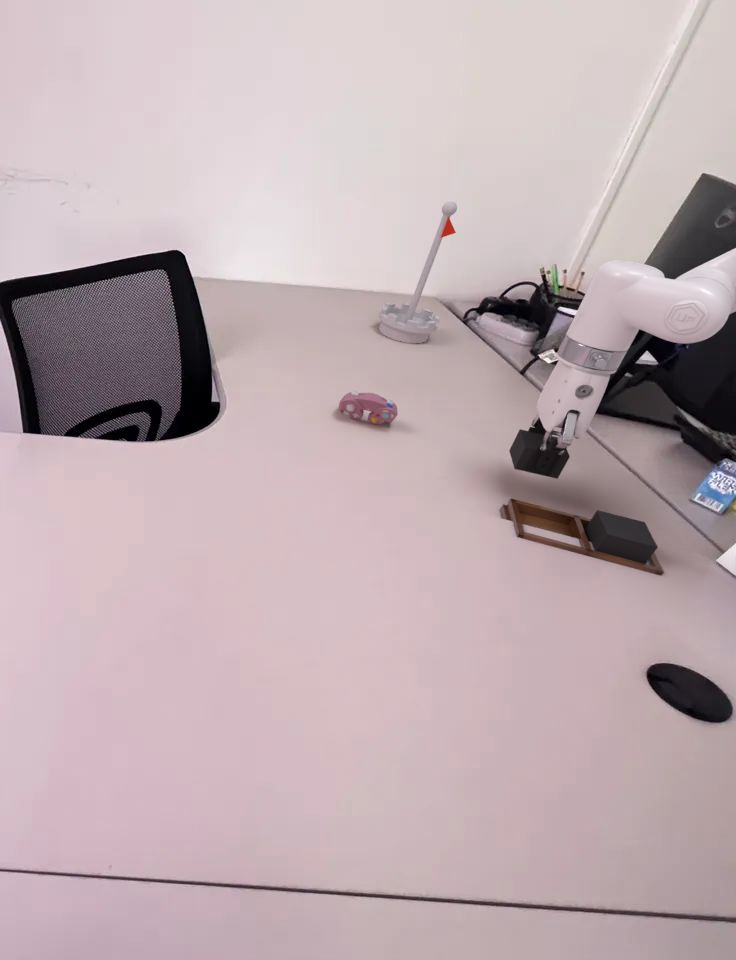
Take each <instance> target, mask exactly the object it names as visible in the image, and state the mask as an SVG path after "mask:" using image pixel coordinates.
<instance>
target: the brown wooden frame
mask: <svg viewBox="0 0 736 960" xmlns="http://www.w3.org/2000/svg"><path fill="white" fill-rule="evenodd" d="M499 511H500V515H501V519H502V520H506V521H509V522H513V526H514V531H515V534H516V537H517V538H520V539H523V540H526V541H531V542H533V543H537V544H542V545H545V546H549V547H553V548H556V549H561V550H565V551H568V552H572V553H575V554H578V555H583V556H587V557H591V558H592V559H593V558H594V559H597V560H602V561H605V562H608V563H611V564H617V565H619V566H624V567H628V568H631V569H635V570H639V571H641V572H646V573H649V574H654V575H657V576H663V575H664V573H665V571H664V569H663V567H662V565H661V563H660V561H659V560H658V557H657V555H656V553H655V552H654V553H653V554H652V556H651V557H650V558H649V560H648V561H647V562H648V564H647V563H646V564H643V563H639V562H636V561H632V560H628V559H624V558H621V557H617V556H613V555H609V554H606V553H602V552H598V551H595V550H594V549H592V547H591V544H590V542H589V541H588V539H587V536H586V534H585V531H584V530H585V528H586V527H587V525H588V523H589V522H590V520H591V519H592V518H589V517H585V516H581V515H577V514H573V513H569V512H565V511H563V510H562V511H561V510H557V509H553V508H549V507H546V506H542V505H538V504H535V503H530V502H526V501H523V500H522V501H521V500H518V499H515V498H509V500H508V502H507V504H504V503H503V504H502V505H501V507H500V509H499ZM524 525H525V526H528V527H533V528H535V529H540V530H544V531H547V532H550V533H555V534H559V535H563V536H567V537H571V538H574V539H577V540H578V541H579V542H578V543H579V545H580V546H579V545H575V544H572V543H568V542H564V541H560V540H556V539H553V538H550V537H544V536H541V535H538V534H534V533H530V532H526V531H525V529H524Z"/></svg>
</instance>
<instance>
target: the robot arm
mask: <svg viewBox="0 0 736 960" xmlns="http://www.w3.org/2000/svg"><path fill="white" fill-rule="evenodd" d="M735 312H736V247H735V248H732V249H730V250H729V251H726V252H724V253H722V254H721V255H718V256H716V257H714V258H712V259H710V260H708V261H706V262H704V263H702V264H700V265H698V266H696V267H694V268H692V269H690V270H688V271H686V272H684V273H682V274H680V275H679V276H678V277H676V278H675V279H674V278H667V277H665V274H664V272H663V271H661V270H660V269H658V268H657V267H654V266H652V265H649V264H645V263H641V262H636V261H631V260H625V259H624V260H623V259H622V260H621V259H614V260H608V261H606V262H604V263H603V264H601V265H600V266H599V267H598V269H597V270H596V271H595V274H594V275H593V278H592V280H591V282H590V284H589V286H588V288H587V290H586V292H585V294H584V296H583V298H582V300H581V302H580V305H579V307H578V308H577V311H576V313H575V314H574V317H573V319H572V321H571V323H570V325H569V327H568V329H567V331H566V333H565V335H564V337H563V339H562V341H561V344H560V345H559V348H558V349H557V352H556V354H555V358H556V360H557V362H556V364H555V366H554V368H553V370H552V372H551V373H550V375H549V377H548V378H547V381H546V382H545V384H544V386H543V388H542V390H541V392H540V395H539V397H538V399H537V402H536V412H537V414H536V415H535V417H533V419H532V421H531V426H529V428H528V430H527V431H530V432H535V433H540V434H544V435H545V436H544V438H543V441H542V444H541V447H537V448H536V450H535V452H534V454H533V456H532V458H531V460H530V462H529V464H528V466H527V471H528V472H527V473H530V472H532V473H531V474H534V473H537V474H536V475H539V474H541V475H540V476H543V475H545V476H544V477H547V476H549V475H551V473H552V471H553V469H554V467H555V466H556V464H557V462H558V460H559V458H560V456H561V455H562V454H563V452H564V450H565V449H568V447H570V446H571V445H572V443H573V440H574V438H575V439H577V440H580V439H582V438H583V437H584V436H585V435H586V433H587V430H588V429H589V427H590V426H591V422H592V420H593V418H594V416H595V414H596V412H597V410H598V408H599V406H600V405H601V401H602V399H603V397H604V394H605V393H606V389H607V387H608V385H609V381H610V378H611V375H613V374H615V373H617V370H619V367H620V366H621V363H622V362H623V360H624V358H625V356H626V354H627V353H628V351H629V349H630V347H631V345H632V344H633V342H634V340H635V339H636V336H637V335H638V333H639V331H643V332H645V333H648V334H649V335H652V336H654V337H657V338H659V339H662V340H664V341H667V342H671V343H674V344H675V343H676V344H685V345H686V344H687V345H688V344H695V343H699V342H703V341H705V340H707V339H709V338H711V337H713V336H714V335H715V334H717V333H718V332H719V331H720V330H722V328H723V327H724V326H725V324H726V322H727V321H728V319H729V316H730V315H731V314H733V313H735ZM554 428H558V429H561V430H560V431H558V430H554ZM551 436H555V437H558V438H557V440H552V441H550V439H551ZM549 441H550V442H549Z"/></svg>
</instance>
